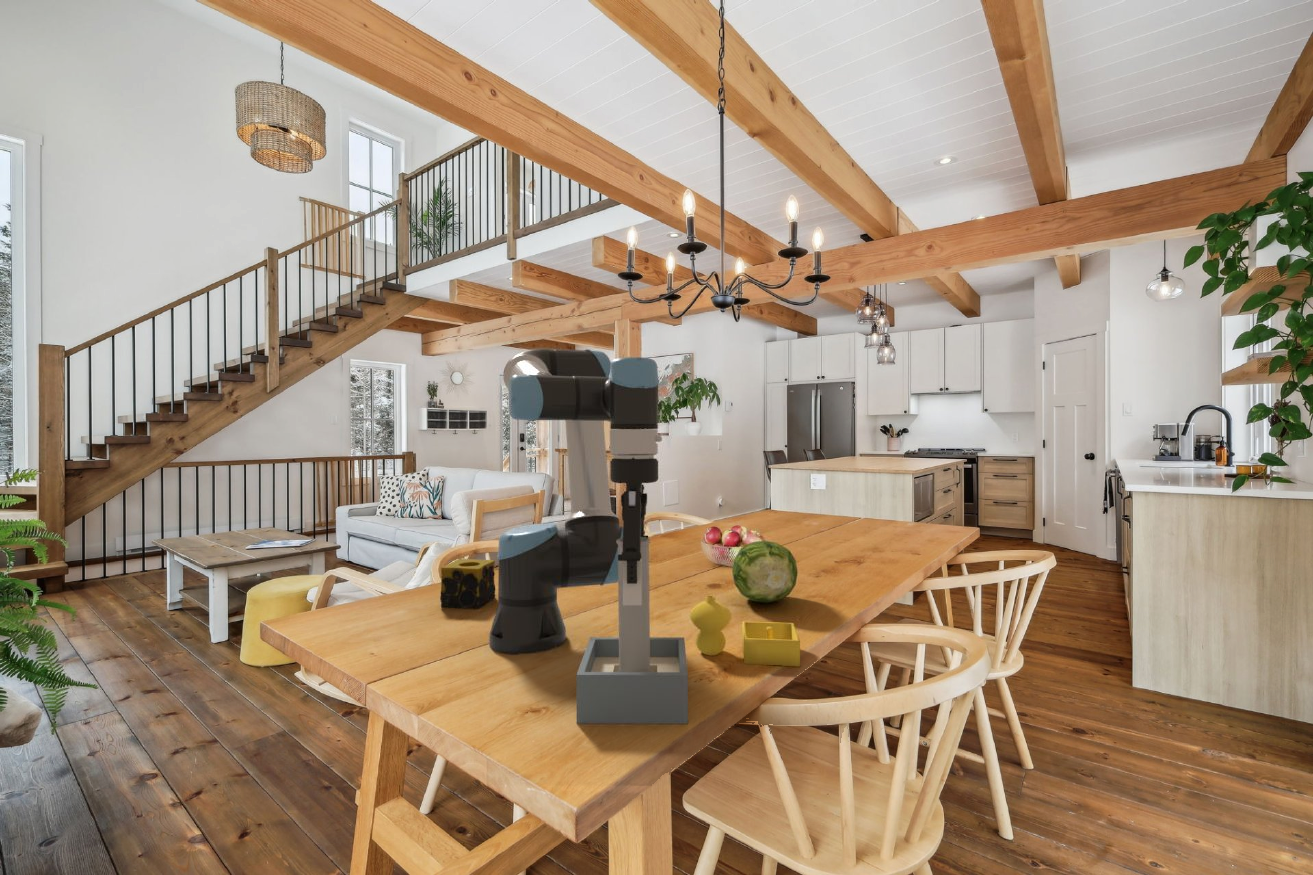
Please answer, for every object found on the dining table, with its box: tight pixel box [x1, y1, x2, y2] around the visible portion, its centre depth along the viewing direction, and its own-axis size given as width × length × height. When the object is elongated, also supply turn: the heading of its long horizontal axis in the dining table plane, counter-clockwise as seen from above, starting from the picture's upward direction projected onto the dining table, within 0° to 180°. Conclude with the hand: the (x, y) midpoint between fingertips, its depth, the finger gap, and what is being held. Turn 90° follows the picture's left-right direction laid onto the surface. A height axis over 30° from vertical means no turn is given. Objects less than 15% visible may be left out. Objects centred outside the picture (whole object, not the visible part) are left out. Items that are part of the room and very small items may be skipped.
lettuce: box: [732, 540, 799, 603], centre depth 146 cm, size 16×21×15 cm
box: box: [575, 636, 689, 725], centre depth 94 cm, size 16×16×7 cm
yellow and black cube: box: [439, 558, 496, 610], centre depth 148 cm, size 10×10×10 cm
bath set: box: [689, 595, 801, 668], centre depth 113 cm, size 20×10×11 cm, turn 84°
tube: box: [616, 537, 651, 672], centre depth 94 cm, size 5×5×25 cm
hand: (634, 592), depth 94 cm, fingers open, 13 cm apart
